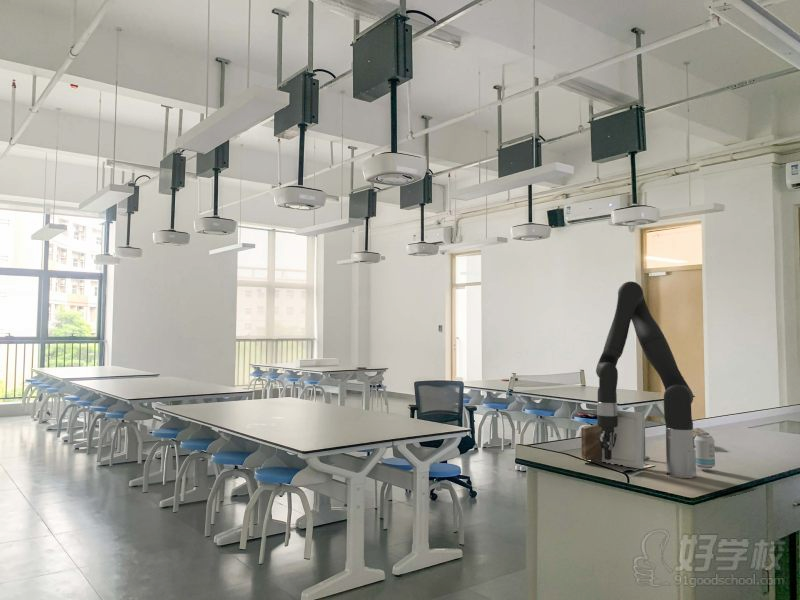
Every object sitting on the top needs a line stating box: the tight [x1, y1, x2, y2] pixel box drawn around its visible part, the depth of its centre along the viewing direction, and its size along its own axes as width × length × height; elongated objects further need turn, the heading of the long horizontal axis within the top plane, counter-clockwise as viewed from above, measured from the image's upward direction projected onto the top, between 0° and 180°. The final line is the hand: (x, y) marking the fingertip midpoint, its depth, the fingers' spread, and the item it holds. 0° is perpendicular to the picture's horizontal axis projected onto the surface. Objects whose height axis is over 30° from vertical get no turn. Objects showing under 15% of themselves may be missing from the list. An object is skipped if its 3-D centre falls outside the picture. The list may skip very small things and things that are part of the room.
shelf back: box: [580, 423, 602, 462], centre depth 245 cm, size 2×28×14 cm, turn 138°
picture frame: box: [601, 410, 646, 470], centre depth 234 cm, size 16×3×21 cm, turn 44°
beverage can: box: [694, 434, 716, 469], centre depth 231 cm, size 7×7×12 cm
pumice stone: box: [693, 427, 710, 446], centre depth 277 cm, size 14×12×8 cm
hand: (608, 459), depth 232 cm, fingers closed
